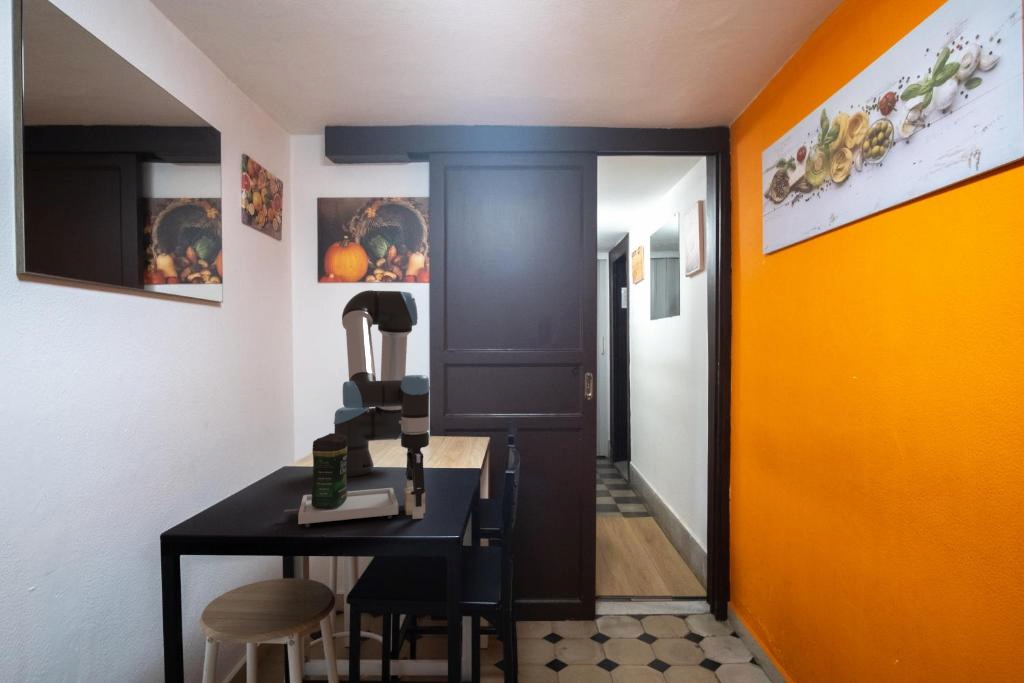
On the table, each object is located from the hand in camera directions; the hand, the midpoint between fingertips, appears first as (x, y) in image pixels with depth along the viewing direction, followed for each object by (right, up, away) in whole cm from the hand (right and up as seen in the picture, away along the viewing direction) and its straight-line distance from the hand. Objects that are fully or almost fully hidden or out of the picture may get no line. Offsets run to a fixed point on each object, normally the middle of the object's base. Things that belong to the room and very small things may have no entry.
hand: (414, 510), depth 139 cm
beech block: (0, 0, 0) cm, 0 cm away
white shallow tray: (-19, 0, -4) cm, 19 cm away
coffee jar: (-22, +3, -4) cm, 22 cm away
